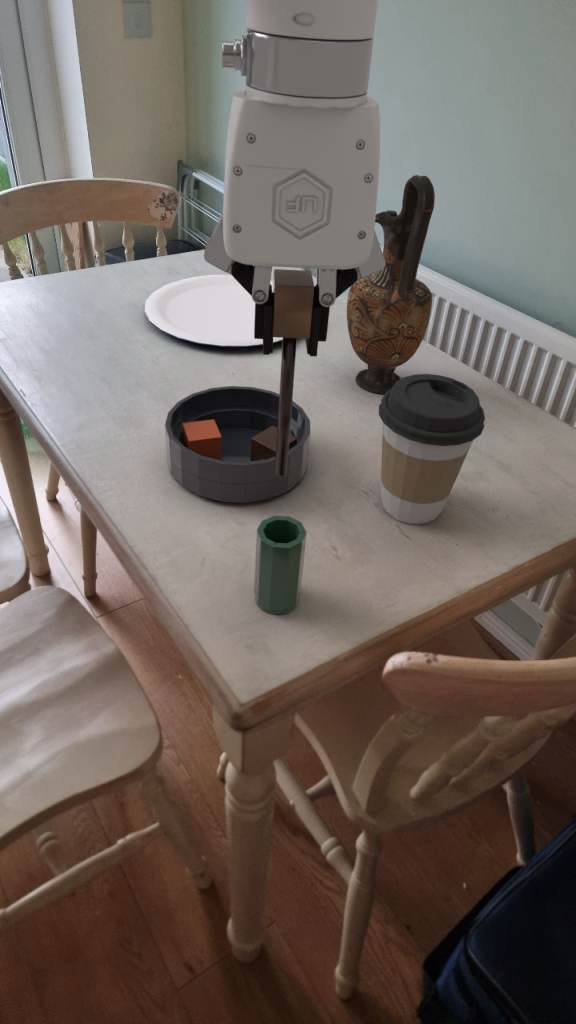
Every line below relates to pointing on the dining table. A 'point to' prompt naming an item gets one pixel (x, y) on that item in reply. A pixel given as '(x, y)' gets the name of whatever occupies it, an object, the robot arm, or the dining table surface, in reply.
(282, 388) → the wooden cube mallet
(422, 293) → the vase
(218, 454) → the terracotta block
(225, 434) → the bowl
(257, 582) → the holder
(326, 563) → the dining table surface
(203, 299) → the plate
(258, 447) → the walnut block
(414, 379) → the coffee cup
